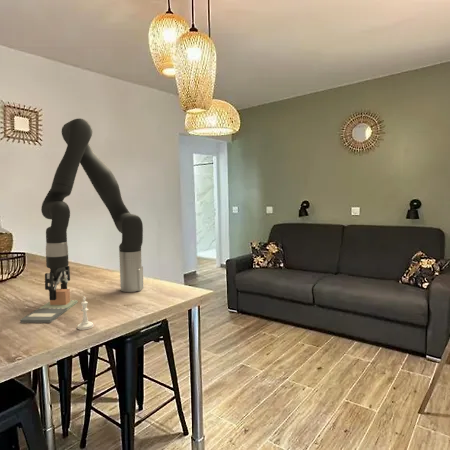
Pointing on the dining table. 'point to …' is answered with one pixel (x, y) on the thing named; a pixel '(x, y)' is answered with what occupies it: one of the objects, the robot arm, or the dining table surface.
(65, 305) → the green plate orange block
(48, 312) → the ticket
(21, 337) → the dining table surface
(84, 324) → the chess piece
